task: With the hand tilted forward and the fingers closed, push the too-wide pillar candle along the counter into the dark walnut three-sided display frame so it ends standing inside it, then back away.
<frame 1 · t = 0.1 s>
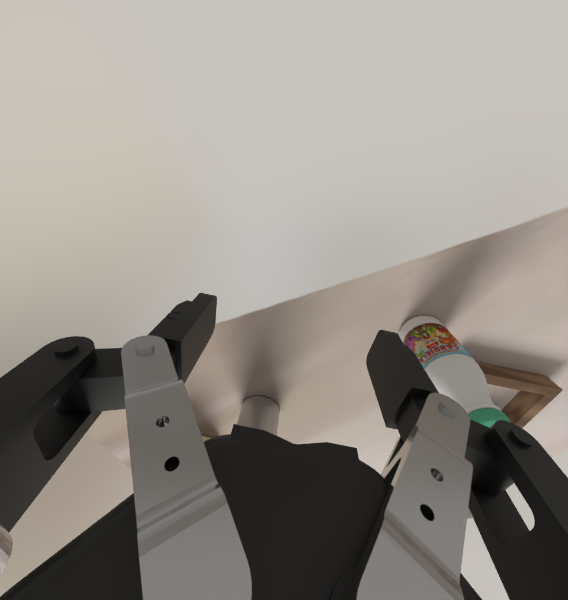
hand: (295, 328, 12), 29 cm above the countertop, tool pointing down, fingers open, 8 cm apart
milk bottle: (418, 331, 46), on the countertop
display frame: (469, 399, 52), on the countertop
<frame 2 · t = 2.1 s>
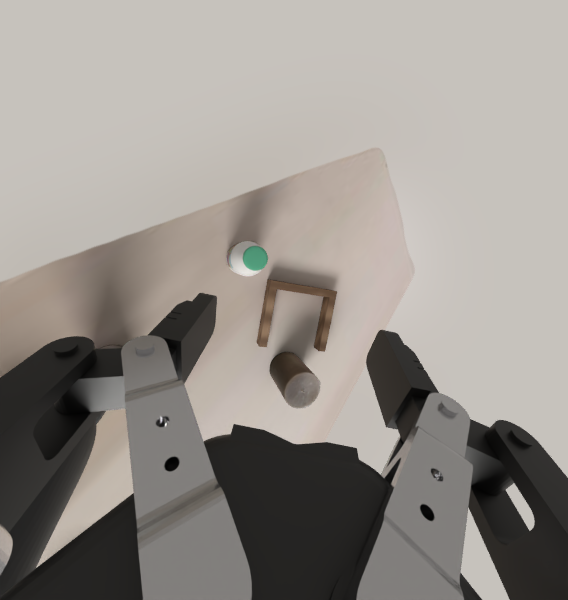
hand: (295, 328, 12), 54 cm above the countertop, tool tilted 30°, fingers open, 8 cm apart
pillar candle: (285, 367, 72), on the countertop
milk bottle: (240, 259, 63), on the countertop
display frame: (294, 318, 70), on the countertop
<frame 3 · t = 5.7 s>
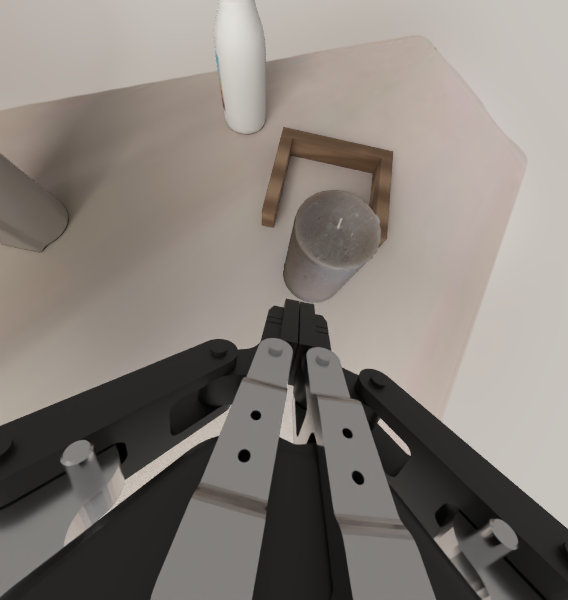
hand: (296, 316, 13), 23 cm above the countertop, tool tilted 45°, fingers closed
pillar candle: (313, 275, 39), on the countertop
milk bottle: (245, 121, 47), on the countertop
display frame: (326, 198, 43), on the countertop
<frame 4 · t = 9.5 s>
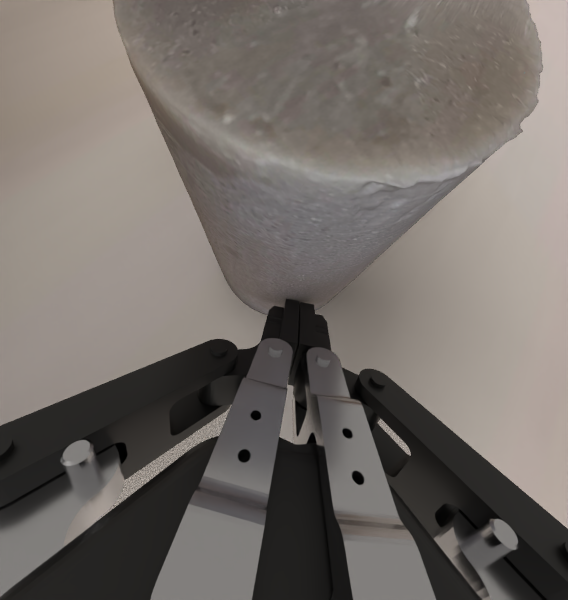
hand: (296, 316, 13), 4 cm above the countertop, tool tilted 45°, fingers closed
pillar candle: (286, 259, 19), on the countertop, touching gripper
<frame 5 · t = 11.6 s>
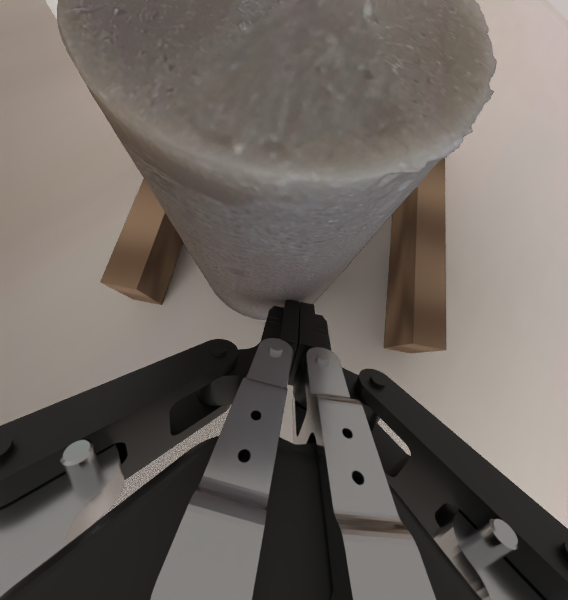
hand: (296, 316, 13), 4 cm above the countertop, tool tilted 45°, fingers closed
pillar candle: (271, 260, 19), on the countertop, touching gripper
display frame: (293, 229, 19), on the countertop
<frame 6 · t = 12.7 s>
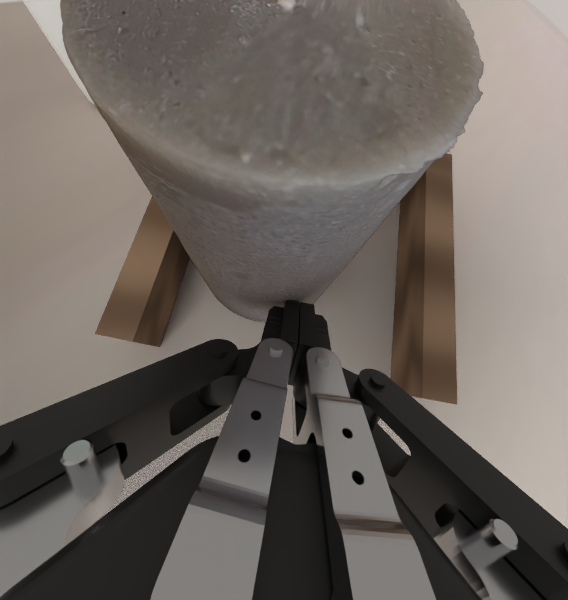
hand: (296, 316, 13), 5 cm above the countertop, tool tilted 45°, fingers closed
pillar candle: (270, 263, 19), on the countertop, touching gripper
milk bottle: (132, 90, 22), on the countertop
display frame: (296, 264, 19), on the countertop
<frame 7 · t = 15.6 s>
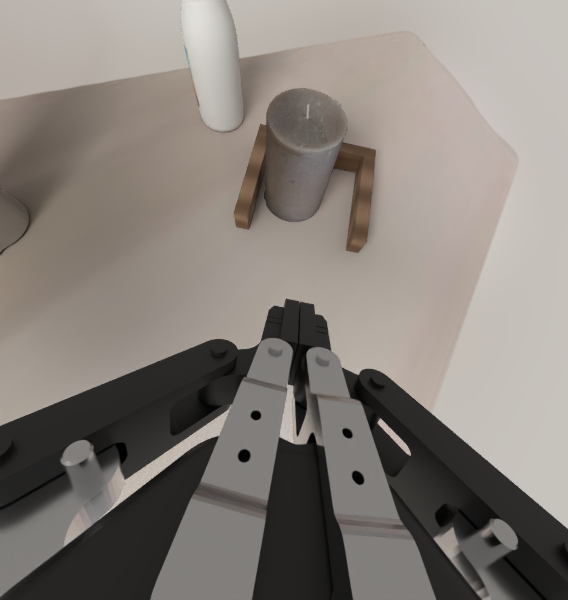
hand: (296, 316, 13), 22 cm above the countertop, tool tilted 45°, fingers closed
pillar candle: (293, 199, 41), on the countertop
milk bottle: (223, 118, 45), on the countertop
display frame: (305, 199, 41), on the countertop
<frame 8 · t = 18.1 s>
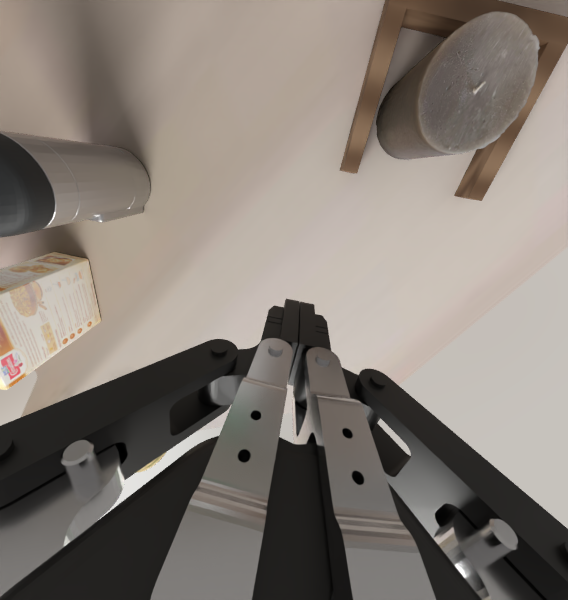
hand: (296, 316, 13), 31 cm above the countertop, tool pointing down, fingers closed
pillar candle: (412, 120, 33), on the countertop
coffeecake box: (80, 288, 50), on the countertop
display frame: (428, 120, 33), on the countertop
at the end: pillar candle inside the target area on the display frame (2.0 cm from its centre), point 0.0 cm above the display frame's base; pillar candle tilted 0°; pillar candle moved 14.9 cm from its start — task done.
